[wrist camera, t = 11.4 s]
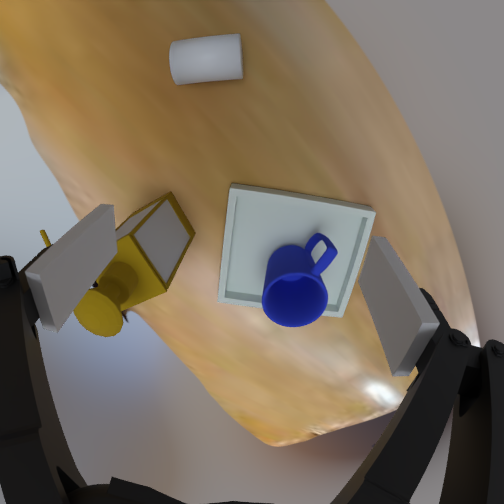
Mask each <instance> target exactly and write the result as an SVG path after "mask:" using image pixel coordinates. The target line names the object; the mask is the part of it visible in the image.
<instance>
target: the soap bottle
mask: <svg viewBox="0 0 504 504" xmlns="http://www.w3.org/2000/svg"><path fill="white" fill-rule="evenodd" d="M115 230H116V241H117V251H118V252H117V254H116V255H115V256H114V257H113V259H112V260H111V261H110V262H109V264H108V265H107V266H106V267H105V269H104V270H103V271H102V273H101V274H100V275H99V276H98V278H97V279H96V282H97V283H98V287H96V288H91V289H89V290H88V291H87V292H86V294H85V295H84V296H83V298H82V299H81V300H80V302H79V303H78V305H77V306H76V307H75V309H74V310H73V311H74V314H75V316H76V317H77V319H78V321H79V323H80V324H81V325H82V326H83V327H84V328H85V329H86V330H88V331H90V332H92V333H93V334H95V335H99V336H104V337H110V336H115V335H116V334H117V333H119V332H120V330H121V328H122V325H123V317H122V313H121V311H123V310H125V309H127V308H130V307H132V306H134V305H137V304H139V303H141V302H144V301H146V300H149V299H151V298H153V297H156V296H158V295H160V294H163V293H165V292H167V289H168V288H169V286H170V284H171V282H172V280H173V278H174V276H175V274H176V271H177V269H178V267H179V265H180V263H181V261H182V259H183V257H184V255H185V253H186V251H187V249H188V247H189V245H190V243H191V241H192V239H193V237H194V235H195V231H194V229H193V228H192V226H191V224H190V223H189V221H188V219H187V218H186V216H185V214H184V212H183V211H182V209H181V207H180V206H179V204H178V202H177V201H176V199H175V197H174V195H173V194H172V192H169V193H167V194H165V195H163V196H162V197H160V198H158V199H156V200H155V201H153V202H151V203H149V204H148V205H146V206H144V207H142V208H141V209H139V210H137V211H136V212H134V213H132V214H131V215H130V216H129V217H128V218H127V219H126V220H125V221H124V222H123V223H122V224H121V225H120V226H119V227H118V228H117V229H115ZM40 233H41V235H42V238H43V240H44V242H45V244H46V247H48V246H50V245H51V243H50V241H49V239H48V236H47V234H46V232H45V230H41V231H40Z"/></svg>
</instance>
